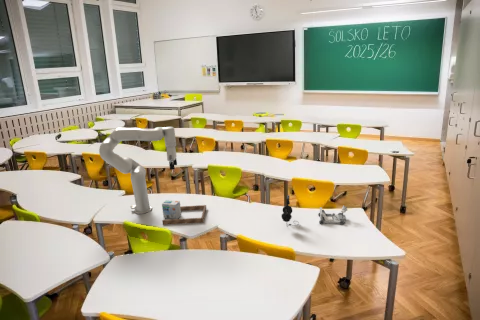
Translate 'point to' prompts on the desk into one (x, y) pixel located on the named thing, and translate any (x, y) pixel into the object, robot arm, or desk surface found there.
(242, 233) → the desk surface
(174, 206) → the light bulb box
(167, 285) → the desk surface
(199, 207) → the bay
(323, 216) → the toy car
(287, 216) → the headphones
